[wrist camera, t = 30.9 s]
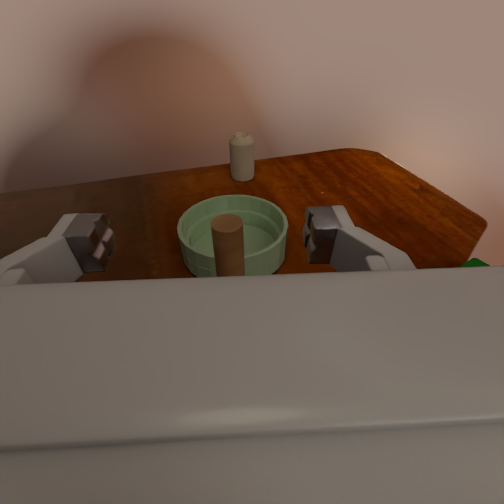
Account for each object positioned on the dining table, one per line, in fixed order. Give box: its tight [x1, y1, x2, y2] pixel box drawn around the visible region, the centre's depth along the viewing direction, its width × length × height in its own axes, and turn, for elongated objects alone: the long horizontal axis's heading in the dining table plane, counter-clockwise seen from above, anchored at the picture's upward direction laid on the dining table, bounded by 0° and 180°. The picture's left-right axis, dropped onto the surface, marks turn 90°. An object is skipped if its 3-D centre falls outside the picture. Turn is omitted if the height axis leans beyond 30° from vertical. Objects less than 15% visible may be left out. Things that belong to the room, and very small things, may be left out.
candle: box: [229, 132, 254, 181], centre depth 69 cm, size 6×6×10 cm
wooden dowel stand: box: [211, 214, 245, 277], centre depth 32 cm, size 6×6×18 cm
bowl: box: [177, 195, 288, 278], centre depth 50 cm, size 17×17×6 cm
